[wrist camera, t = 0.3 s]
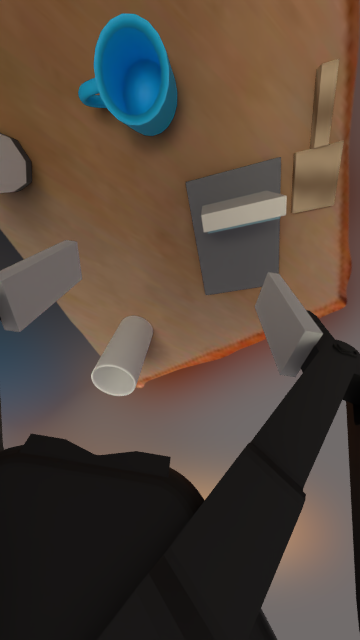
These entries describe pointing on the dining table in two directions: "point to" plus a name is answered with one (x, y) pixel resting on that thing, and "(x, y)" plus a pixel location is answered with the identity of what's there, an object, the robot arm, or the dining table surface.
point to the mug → (132, 76)
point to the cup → (123, 357)
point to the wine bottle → (13, 166)
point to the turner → (318, 149)
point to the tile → (243, 211)
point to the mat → (236, 229)
